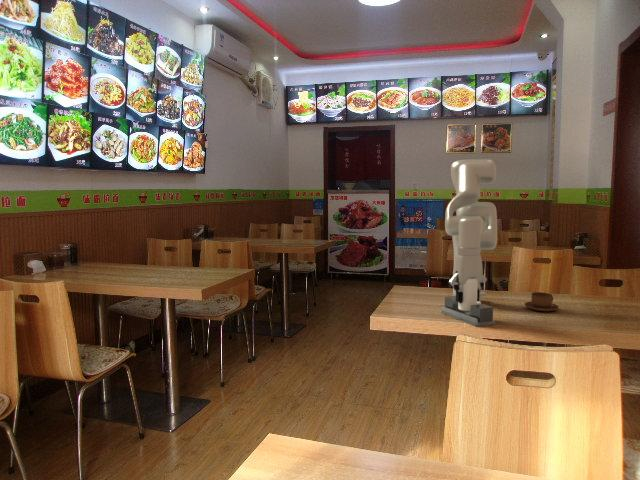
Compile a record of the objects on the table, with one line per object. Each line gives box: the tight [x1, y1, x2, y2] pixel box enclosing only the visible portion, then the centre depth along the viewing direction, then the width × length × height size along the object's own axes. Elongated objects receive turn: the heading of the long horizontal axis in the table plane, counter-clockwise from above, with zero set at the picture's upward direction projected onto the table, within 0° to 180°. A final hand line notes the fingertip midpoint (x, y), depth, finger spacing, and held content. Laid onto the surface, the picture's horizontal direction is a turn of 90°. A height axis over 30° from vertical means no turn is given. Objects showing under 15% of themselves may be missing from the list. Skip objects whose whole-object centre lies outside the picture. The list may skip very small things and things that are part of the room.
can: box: [458, 278, 478, 312], centre depth 180 cm, size 6×6×12 cm
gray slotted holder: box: [440, 295, 496, 328], centre depth 181 cm, size 8×20×6 cm, turn 22°
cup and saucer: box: [524, 291, 559, 312], centre depth 195 cm, size 12×12×6 cm
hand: (467, 301), depth 180 cm, fingers closed on can, 6 cm apart
